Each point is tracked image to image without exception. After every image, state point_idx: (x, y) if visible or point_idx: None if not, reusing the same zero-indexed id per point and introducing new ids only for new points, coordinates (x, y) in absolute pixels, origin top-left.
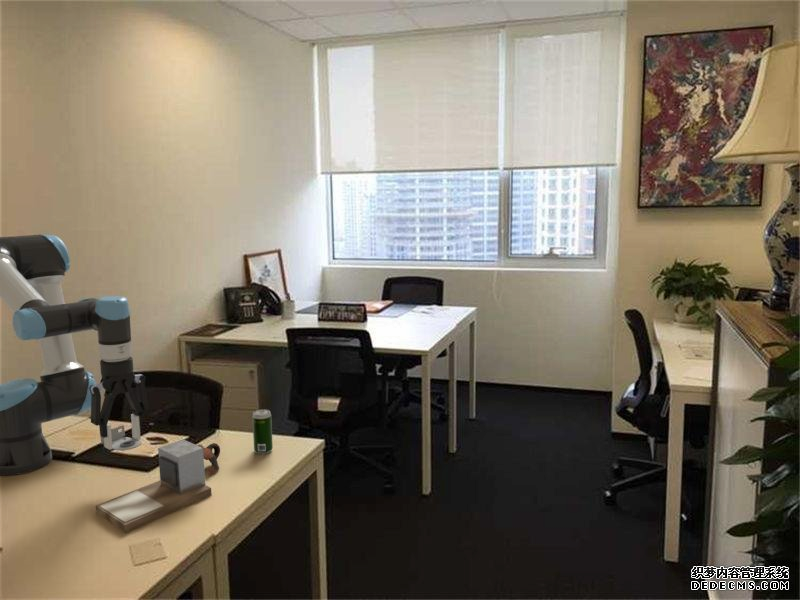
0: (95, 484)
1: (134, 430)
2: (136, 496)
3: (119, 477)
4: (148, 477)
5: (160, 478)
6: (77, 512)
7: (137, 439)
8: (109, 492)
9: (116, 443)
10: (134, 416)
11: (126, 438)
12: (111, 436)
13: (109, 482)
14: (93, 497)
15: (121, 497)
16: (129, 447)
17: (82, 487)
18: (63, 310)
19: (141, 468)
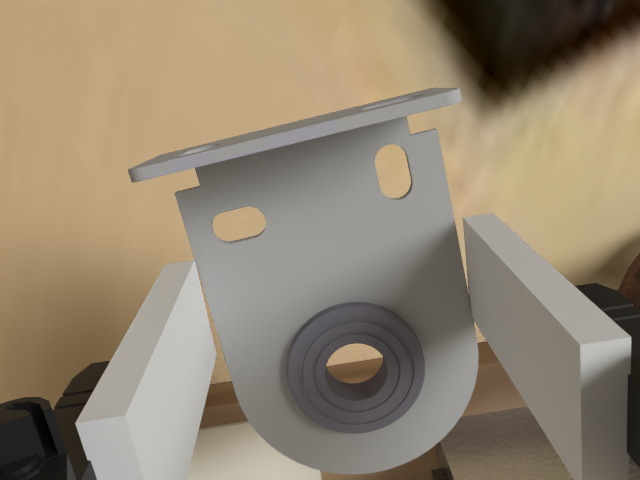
0: (174, 55)
1: (496, 307)
2: (282, 468)
3: (322, 58)
4: (451, 185)
5: (432, 477)
6: (23, 333)
7: (473, 312)
8: (213, 223)
9: (288, 245)
10: (580, 446)
11: (414, 177)
12: (196, 433)
13: (251, 88)
14: (125, 223)
15: (217, 433)
16: (339, 445)
17: (97, 40)
18: None
19: (478, 20)
